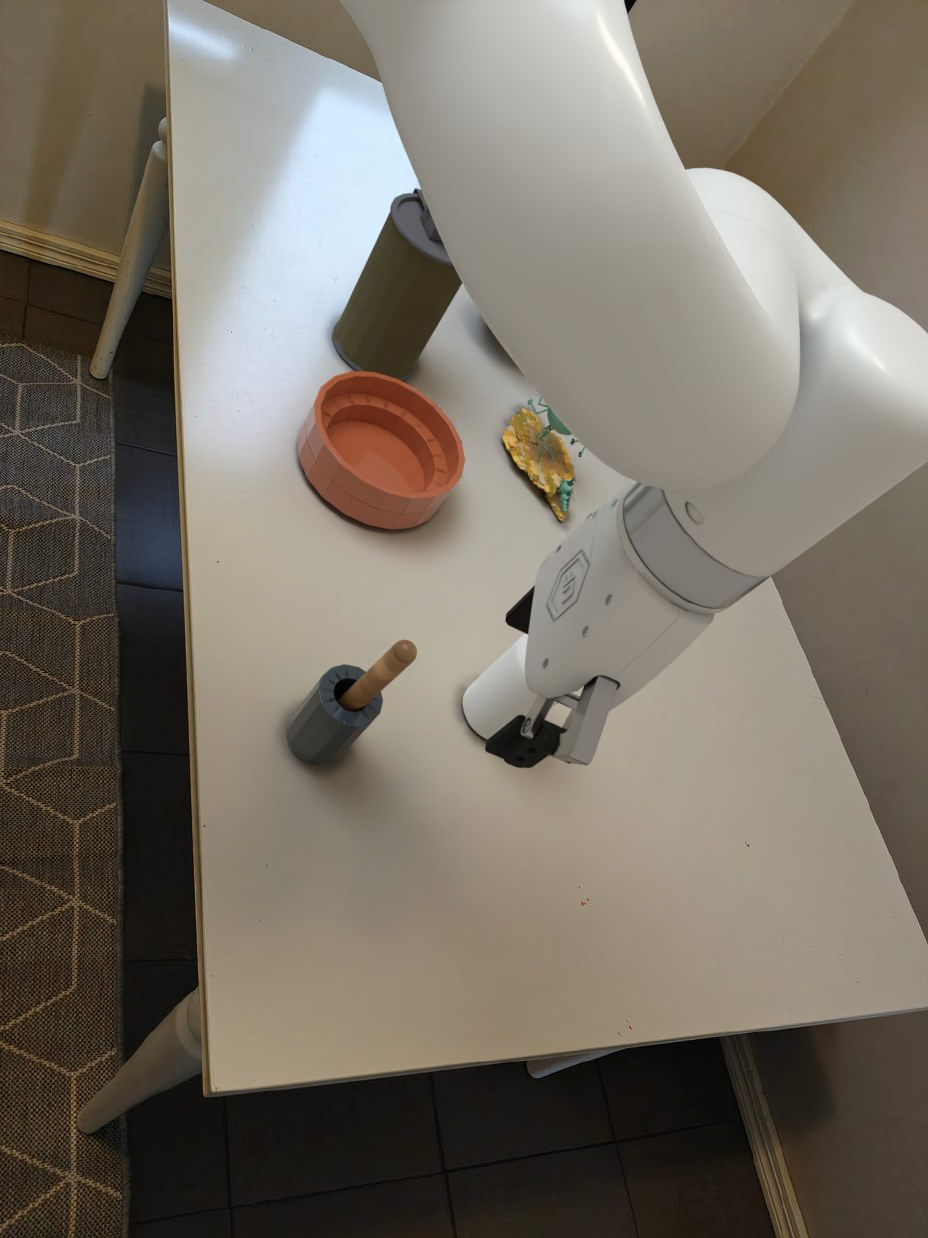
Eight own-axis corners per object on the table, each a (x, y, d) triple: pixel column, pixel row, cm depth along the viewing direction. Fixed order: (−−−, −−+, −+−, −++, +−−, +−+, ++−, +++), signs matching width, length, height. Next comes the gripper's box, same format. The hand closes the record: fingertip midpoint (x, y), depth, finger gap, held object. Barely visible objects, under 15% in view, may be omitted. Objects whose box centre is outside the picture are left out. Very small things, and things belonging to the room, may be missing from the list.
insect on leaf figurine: (508, 510, 98) (576, 412, 88) (485, 410, 109) (543, 313, 99) (578, 529, 102) (651, 437, 92) (549, 431, 113) (611, 339, 103)
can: (457, 677, 82) (521, 614, 73) (515, 687, 85) (584, 627, 76) (463, 739, 78) (531, 681, 70) (523, 748, 81) (596, 692, 72)
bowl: (275, 488, 83) (295, 448, 79) (317, 387, 93) (337, 346, 89) (425, 557, 88) (451, 523, 83) (449, 454, 98) (474, 418, 94)
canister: (423, 388, 102) (507, 251, 87) (343, 377, 96) (418, 228, 82) (399, 322, 106) (475, 181, 92) (321, 308, 101) (389, 155, 86)
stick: (307, 737, 70) (396, 651, 59) (312, 719, 71) (401, 631, 60) (326, 746, 71) (419, 662, 59) (331, 727, 72) (423, 641, 60)
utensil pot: (278, 753, 69) (311, 711, 63) (295, 699, 72) (328, 654, 66) (337, 775, 71) (374, 736, 65) (351, 720, 74) (388, 679, 68)
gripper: (638, 388, 46) (483, 563, 58) (628, 642, 35) (440, 791, 47) (747, 452, 48) (575, 608, 60) (770, 711, 37) (554, 836, 49)
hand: (515, 688), depth 54 cm, fingers open, 9 cm apart
